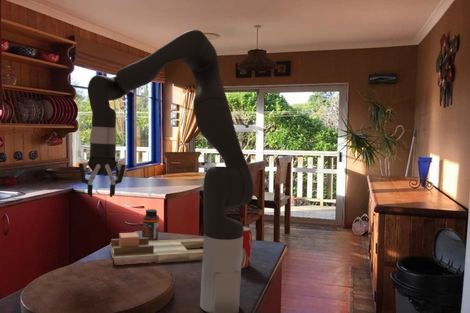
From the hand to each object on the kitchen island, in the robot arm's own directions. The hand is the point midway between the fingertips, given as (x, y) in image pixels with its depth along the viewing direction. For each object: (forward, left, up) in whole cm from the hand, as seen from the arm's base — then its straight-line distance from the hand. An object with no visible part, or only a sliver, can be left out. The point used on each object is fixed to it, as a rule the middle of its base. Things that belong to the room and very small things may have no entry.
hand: (101, 196), depth 122 cm
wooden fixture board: (0, -22, -19) cm, 29 cm away
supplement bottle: (+18, -19, -20) cm, 33 cm away
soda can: (-16, -41, -20) cm, 48 cm away
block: (0, -9, -17) cm, 19 cm away
